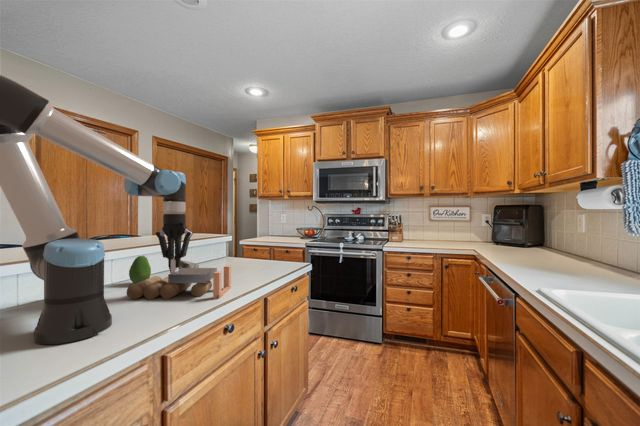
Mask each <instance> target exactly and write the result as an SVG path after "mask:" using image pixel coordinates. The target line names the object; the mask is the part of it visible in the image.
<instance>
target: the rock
mask: <svg viewBox="0 0 640 426" xmlns="http://www.w3.org/2000/svg"><path fill="white" fill-rule="evenodd" d="M183 268H200V266H199V264H198V263H196V262H195V263H194V262H191V261H186V260H181V266H180V267H179V268H178V270H181V269H183ZM168 269H169V274H171V268H169V267H168Z"/></svg>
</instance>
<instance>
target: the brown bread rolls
mask: <svg viewBox="0 0 640 426" xmlns="http://www.w3.org/2000/svg"><path fill="white" fill-rule="evenodd" d="M191 285H192V283H168V276H166V277H164V278H162V277H161V276H158V275H155V276H150V278H149V279H146V280H144V281H141V282H139V283H136V284H134V283H133V284H131V285H130V286H128V287H127V289H126V295H127V297H128V299H131V300H136V299H139V298H141V297H145V298H146V299H148V300H153V299H156V298H158V297H159V296H161V297H162V298H163V299H164V300H165V299H166V300H169V299H171V298H174V297H175V296H177V295H178V294H181V292H184V291H185V290H187V289H189V288H190V287H191Z"/></svg>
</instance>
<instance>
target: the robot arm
mask: <svg viewBox="0 0 640 426" xmlns="http://www.w3.org/2000/svg"><path fill="white" fill-rule="evenodd" d="M34 135H36V136H37V137H40V138H42V139H44V140H46V141H49V142H50V143H52V144H54V145H56V146H59V147H60V148H63V149H65V150H67V151H68V152H71V153H73V154H75V155H77V156H80V157H81V158H83V159H85V160H87V161H89V162H92V163H93V164H95V165H98V166H100V167H101V168H104V169H106V170H108V171H110V172H113V173H114V174H116V175H118V176H120V177H122V178H124V182H123V186H124V191H125V194H127V195H129V196H135V197H154V198H155V197H159V198H162V199H163V200H162V202H163V203H162V212H163V213H164V214H162V224H163V226H162V227H161V230H159V231H157V232H155V235H156V237H157V238H158V242H159V246H160V250H161V255H162V257H163V258H165V259H167V261H168V263H167V265H168V269H169V268H171V273H173V272H176V271H178V268H179V267H180V266H181V259H182V258H185V257H186V256H187V252H188V248H189V244H190V240H191V237H192V236H193V235H194V232H193V231H190V230H188V227H187V225H186V222H187V221H186V217H187V216H186V210H187V209H186V208H187V207H186V205H187V204H186V199H187V198H186V197H187V196H186V195H187V193H186V189H187V182H186V181H187V179H186V175H185V173H184V172H181V171H173V170H170V169H163V168H161V167H159V166H157V165H155V164H153V163H151V162H149V161H148V160H146V159H144V158H142V157H140V156H139V155H137V154H135V153H133V152H132V151H130V150H128V149H127V148H124V147H123V146H121V145H120V144H118V143H116V142H114V141H112V140H111V139H109V138H107V137H105V136H103V135H102V134H100V133H98V132H96V131H94V130H93V129H91V128H89V127H88V126H85V124H82V123H80V122H78V121H77V120H75V119H73V118H71V117H70V116H69V115H66V114H64V113H62V112H61V111H59V110H57V109H55V107H54V106H53V104H52V101H50V100H48V99H46V98H45V97H43V96H41V95H39V93H36V92H34V91H32V90H31V89H30V88H27V87H26V86H24V85H22V84H21V83H18V82H16V81H14V80H13V79H11V78H8V77H7V76H4V75H1V74H0V188H1V190H2V192H3V194H4V196H5V198H6V200H7V203H8V204H9V206H10V209H11V210H12V212H13V214H14V216H15V218H16V220H17V221H18V223H19V226H20V228H21V229H22V232H23V233H24V236H25V241H24V242H23V243H22V245H21V247H22V248H23V251H24V253H25V255H26V257H27V258H28V261H29V265H30V266H29V268H30V270H31V272H32V273H33V275H35V276H36V277H37V278H39V279H40V280H42V281H43V308H42V311H41V313H40V315H39V318H38V320H37V323H36V324H37V325H36V326H35V328H34V329H33V342H34V343H35V344H38V345H58V344H66V343H72V342H76V341H81V340H84V339H88V338H91V337H94V336H97V335H98V334H100V333H102V332H104V331H106V330H107V329H109V328H110V327H111V326H112V325H113V316H112V313H111V312H110V310H109V309H110V308H109V306H108V304H107V301H106V299H105V257H106V252H105V247H104V244H103V242H101V241H100V240H97V239H94V238H93V239H92V238H83V237H81V238H80V235H79V233H78V231H77V229H75V228H72V227H69V226H68V225H67V223H66V220H65V219H64V216H63V214H62V212H61V210H60V209H59V206H58V204H57V202H56V200H55V197H54V195H53V193H52V191H51V189H50V186H49V184H48V182H47V180H46V178H45V176H44V173H43V172H42V169H41V167H40V164H39V163H38V160H37V158H36V157H35V154H34V151H33V150H32V148H31V145H30V141H31V140H32V138H33V137H34ZM183 235H184V237H183ZM165 236H166V237H165ZM182 239H183V240H182ZM182 241H183V242H182ZM171 273H170V274H171Z"/></svg>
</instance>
